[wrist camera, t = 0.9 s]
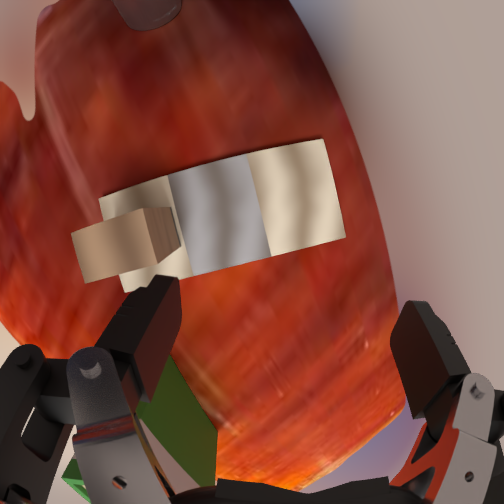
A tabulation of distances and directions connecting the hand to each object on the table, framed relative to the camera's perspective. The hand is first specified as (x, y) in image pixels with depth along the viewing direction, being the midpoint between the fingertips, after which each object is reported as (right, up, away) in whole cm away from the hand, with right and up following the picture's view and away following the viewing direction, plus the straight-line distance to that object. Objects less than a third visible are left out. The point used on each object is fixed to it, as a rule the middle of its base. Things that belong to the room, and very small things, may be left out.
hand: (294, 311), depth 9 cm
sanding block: (-15, +4, +25) cm, 29 cm away
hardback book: (-14, -22, +31) cm, 40 cm away
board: (-5, +7, +26) cm, 27 cm away
